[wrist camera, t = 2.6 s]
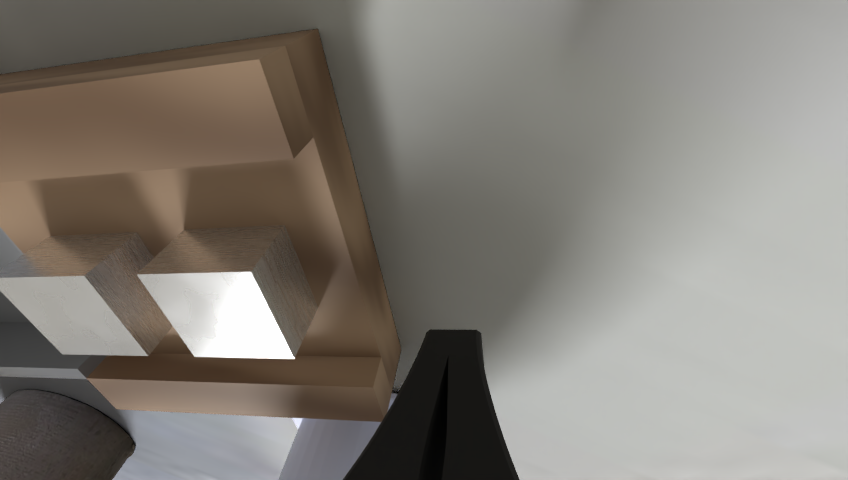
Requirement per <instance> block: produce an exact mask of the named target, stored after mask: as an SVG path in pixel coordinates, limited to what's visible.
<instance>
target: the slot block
mask: <svg viewBox="0 0 848 480" xmlns="http://www.w3.org/2000/svg"><path fill="white" fill-rule="evenodd" d="M270 225H285V226H286V229H287V231H288V234H289V236H290V239H291V241H292V244H293V246H294V249H295V251H296V254H297V256H298V259H299V261H300V264H301V266H302V269H303V271H304V274H305V276H306V279H307V281H308V284H309V286H310V289H311V291H312V294H313V296H314V299H315V301H316V304H317V306H318V309H317V311H316V313H315V316H314V318H313V320H312V322H311V324H310V326H309V328H308V330H307V333H306V335H305V337H304V339H303V341H302V343H301V345H300V347H299V350H298V352H297V354H296V356H295V358H294V359H279V358H226V357H194V355H193V354H192V353H191V351H190V350H189V348H188V347H187V345H186V344H185V343H184V341H183V340H182V338H181V337H180V336H179V334H178V333H177V331H176V330H175V328H174V327H172V328H171V329H170V330H169V332H168V333H167V334H166V335H165V336H164V338H163V339H162V340H161V341H160V342H159V344H158V345H157V346H156V347H155V349H154V350H153V351H152V352H151V353H150V355H149V356H121V355H107V356H106V357H105V359H104V360H103V361H102V362H101V363H100V364H99V365H98V366H97V367H96V368H95V369H94V371H93V372H92V373H91V374H90V375H89V376H88V377H87V378H86V379H87V380H88V381H89V382H90V383H91V384H92V385H93V386H94V387H95V388H96V389H97V390H98V391H99V392H100V393H101V394H102V395H103V396H104V397H105V398H106V399H107V400H108V401H109V402H110V403H111V404H112V405H113V406H114V407H115V408H116V409H122V410H143V411H164V412H185V413H205V414H226V415H247V416H267V417H288V418H309V419H329V420H350V421H371V422H382V420H383V419H384V417H385V415H386V414H387V412H388V407H389V403H390V398H391V394H392V389H393V384H394V380H395V375H396V371H397V366H398V362H399V357H400V353H401V346H400V343H399V339H398V335H397V331H396V327H395V323H394V320H393V316H392V312H391V308H390V304H389V300H388V296H387V293H386V289H385V285H384V281H383V277H382V273H381V270H380V266H379V262H378V258H377V254H376V250H375V247H374V243H373V239H372V235H371V231H370V227H369V224H368V220H367V216H366V212H365V208H364V204H363V201H362V197H361V193H360V189H359V185H358V181H357V177H356V174H355V170H354V166H353V162H352V158H351V154H350V151H349V147H348V143H347V139H346V135H345V131H344V128H343V124H342V120H341V116H340V112H339V108H338V105H337V101H336V97H335V93H334V89H333V85H332V81H331V78H330V74H329V70H328V66H327V62H326V58H325V55H324V51H323V47H322V43H321V39H320V35H319V32H318V29H313V30H306V31H299V32H292V33H285V34H278V35H271V36H264V37H257V38H250V39H243V40H236V41H229V42H222V43H215V44H208V45H201V46H194V47H187V48H180V49H173V50H166V51H159V52H152V53H145V54H138V55H132V56H125V57H118V58H111V59H104V60H97V61H90V62H83V63H76V64H69V65H62V66H55V67H48V68H41V69H34V70H27V71H20V72H13V73H6V74H0V227H1V229H2V230H3V231H4V232H5V233H6V234H7V235H8V237H9V238H10V239H11V240H12V241H13V242H14V243H15V245H16V246H17V247H18V248H19V249H20V250H21V251H22V253H23V254H24V253H26V252H27V251H29V250H30V249H32V248H33V247H35V246H36V245H38V244H39V243H41V242H42V241H44V240H45V239H47V238H48V237H50V236H62V235H82V234H103V233H124V232H138V234H139V235H140V237H141V238H142V240H143V242H144V243H145V245H146V246H147V248H148V249H149V251H150V252H151V254H152V255H153V257H156V256H157V255H158V254H159V253H160V252H161V251H162V250H163V249H164V248H165V247H166V246H167V245H168V244H169V243H170V242H171V241H172V240H174V239H175V238H176V237H177V236H178V235H179V234H180V233H181V232H182V231H183V230H187V229H208V228H228V227H249V226H270Z"/></svg>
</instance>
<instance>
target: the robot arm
mask: <svg viewBox="0 0 848 480" xmlns="http://www.w3.org/2000/svg"><path fill="white" fill-rule="evenodd" d="M292 419H293V421H294V423H295V425H296V426H297V428H298V432H297V434H296V437H295V439H294V442H293V444H292V447H291V449H290V452H289V454H288V457H287V459H286V462H285V464H284V467H283V470H282V472H281V475H280V477H279V480H519V477H518V475H517V472H516V470H515V467H514V465H513V462H512V460H511V457H510V454H509V451H508V449H507V446H506V443H505V440H504V437H503V434H502V431H501V428H500V425H499V422H498V419H497V416H496V413H495V409H494V406H493V402H492V399H491V395H490V391H489V388H488V384H487V379H486V375H485V370H484V360H483V349H482V338H481V333H480V332H479V331H477V330H429V331H428V332H427V333H426V336H425V338H424V341H423V343H422V346H421V348H420V350H419V353H418V355H417V357H416V359H415V361H414V363H413V365H412V367H411V370H410V372H409V374H408V376H407V378H406V379H405V381H404V383H403V385H402V387H401V389H400V391H399V392H398V394H397V393H392V394H391V398H390V403H389V407H388V412H387V414H386V415H385V417H384V419H383V420H382V422H371V421H350V420H329V419H309V418H292Z"/></svg>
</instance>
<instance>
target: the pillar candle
mask: <svg viewBox="0 0 848 480" xmlns="http://www.w3.org/2000/svg"><path fill="white" fill-rule="evenodd" d="M134 449H135V446H134V444H133V440H132V439H131V437H130V436H129V435H128V434H127V433H126V432H125V431H124V430H123V429H122V428H121V427H120V426H119V425H118V424H117V423H115V422H114V421H113V420H111V419H110V418H108V417H106V416H104V415H103V414H102V413H101V412H99V411H98V410H95V409H94V408H92V407H90V406H88V405H86V404H83V403H80V402H79V401H75V400H72V399H70V398H69V397H65V396H62V395H59V394H55V393H51V392H46V391H40V390H19V391H16V392H14V393H12V394H11V395H10V396H9V397H8V398H6V399H5V400H4V401H3V402H2V403H1V404H0V480H112V479H113V478H114V477H115V475H116V474H117V472H118V471H119V470H120V468H121V467H122V465H123V464H124V463H125V461H126V459H127V458H128V457H130V456H131V455H132V454H133V453H134Z"/></svg>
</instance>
